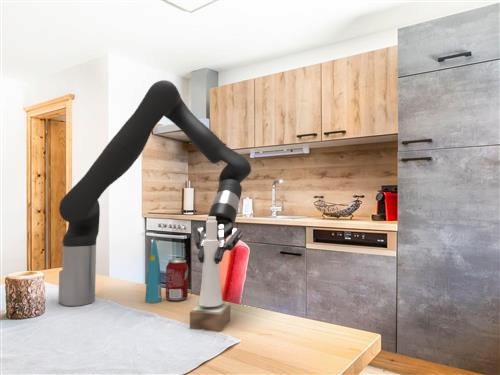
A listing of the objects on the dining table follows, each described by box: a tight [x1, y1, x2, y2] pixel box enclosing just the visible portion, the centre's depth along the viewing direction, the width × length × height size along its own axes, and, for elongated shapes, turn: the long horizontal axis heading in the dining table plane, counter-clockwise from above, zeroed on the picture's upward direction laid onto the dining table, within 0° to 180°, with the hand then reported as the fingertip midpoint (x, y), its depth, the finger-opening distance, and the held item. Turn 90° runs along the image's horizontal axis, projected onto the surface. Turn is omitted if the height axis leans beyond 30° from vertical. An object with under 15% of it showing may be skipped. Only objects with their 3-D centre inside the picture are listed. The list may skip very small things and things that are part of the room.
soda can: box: [165, 258, 189, 302], centre depth 116 cm, size 7×7×12 cm
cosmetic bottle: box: [198, 216, 224, 307], centre depth 93 cm, size 6×6×22 cm
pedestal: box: [189, 303, 232, 332], centre depth 93 cm, size 8×8×4 cm
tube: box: [144, 237, 163, 304], centre depth 113 cm, size 7×5×19 cm, turn 23°
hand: (208, 261), depth 91 cm, fingers closed on cosmetic bottle, 3 cm apart
